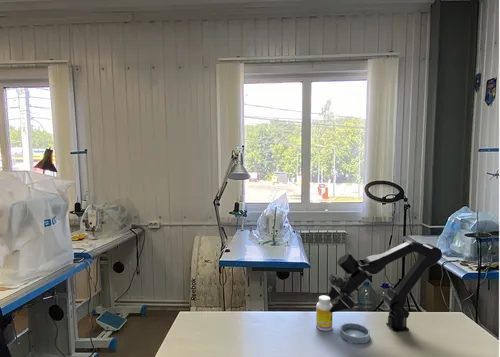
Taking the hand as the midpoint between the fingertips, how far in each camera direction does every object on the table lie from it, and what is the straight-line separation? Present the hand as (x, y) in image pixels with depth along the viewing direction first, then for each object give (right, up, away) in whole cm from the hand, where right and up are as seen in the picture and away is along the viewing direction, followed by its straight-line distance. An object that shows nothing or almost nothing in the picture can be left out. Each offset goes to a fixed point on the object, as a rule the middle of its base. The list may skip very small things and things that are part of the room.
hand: (327, 306), depth 137 cm
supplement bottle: (-1, -9, +1) cm, 9 cm away
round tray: (+10, -9, -6) cm, 15 cm away
